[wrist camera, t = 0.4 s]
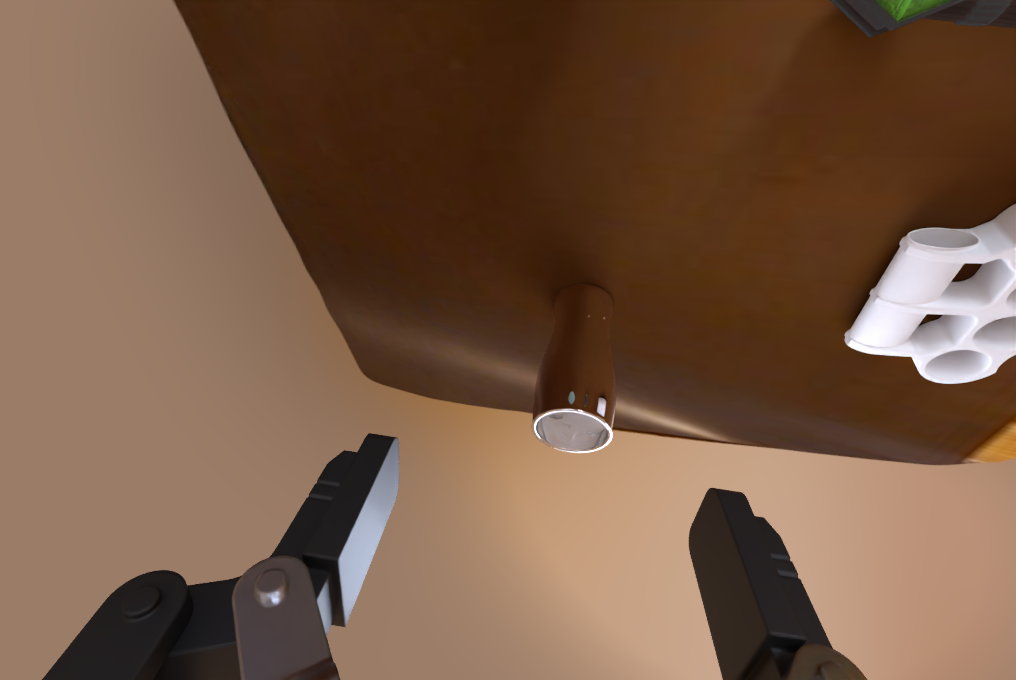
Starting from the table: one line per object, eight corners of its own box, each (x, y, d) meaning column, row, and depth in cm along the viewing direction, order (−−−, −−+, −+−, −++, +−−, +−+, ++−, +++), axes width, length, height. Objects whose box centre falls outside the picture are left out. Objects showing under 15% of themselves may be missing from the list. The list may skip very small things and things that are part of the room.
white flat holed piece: (921, 187, 34) (1176, 184, 31) (826, 351, 47) (1000, 360, 45) (941, 213, 32) (1217, 213, 29) (836, 377, 45) (1019, 388, 42)
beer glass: (610, 333, 51) (605, 460, 41) (546, 323, 51) (526, 446, 42) (625, 284, 46) (623, 416, 36) (553, 274, 46) (532, 401, 36)
